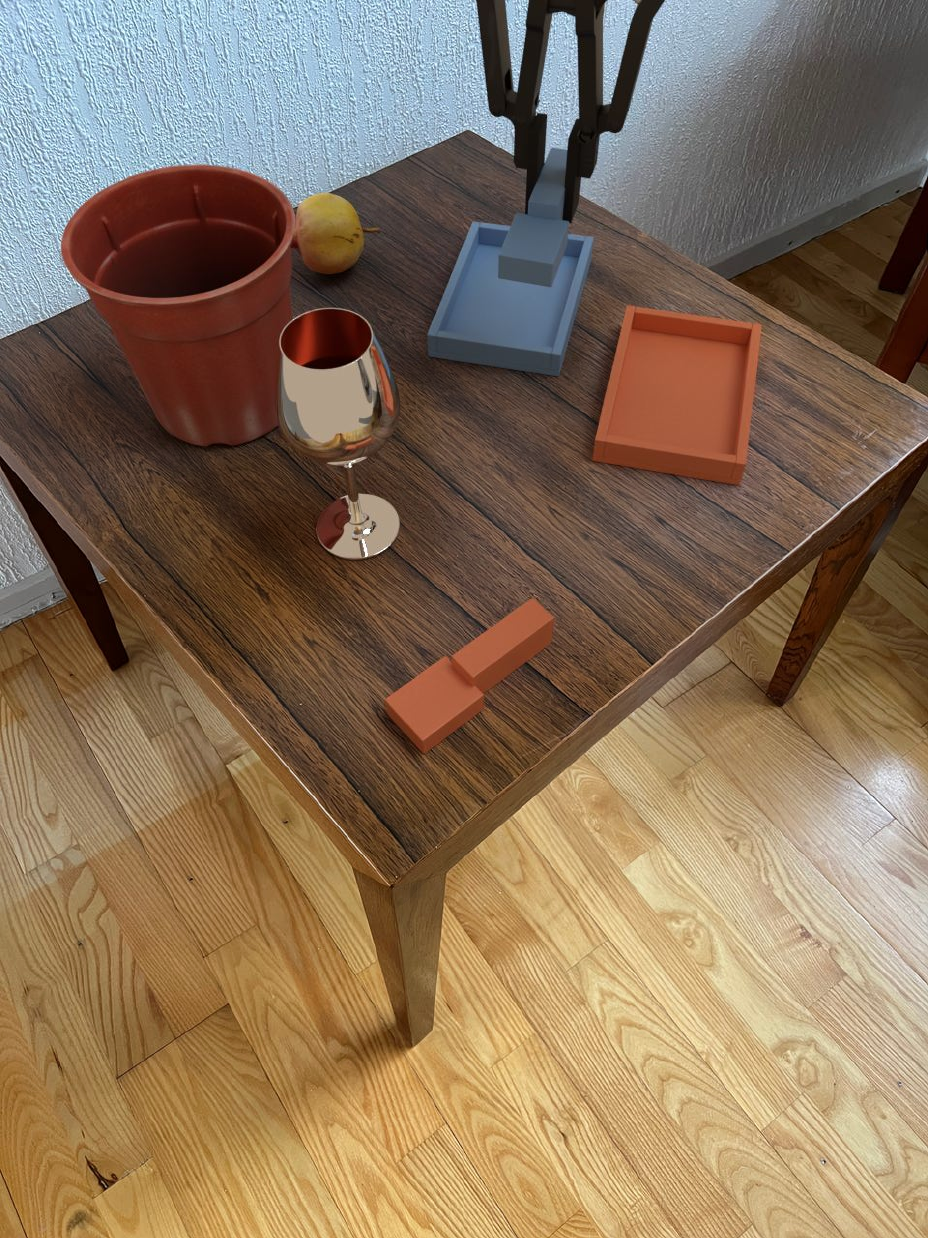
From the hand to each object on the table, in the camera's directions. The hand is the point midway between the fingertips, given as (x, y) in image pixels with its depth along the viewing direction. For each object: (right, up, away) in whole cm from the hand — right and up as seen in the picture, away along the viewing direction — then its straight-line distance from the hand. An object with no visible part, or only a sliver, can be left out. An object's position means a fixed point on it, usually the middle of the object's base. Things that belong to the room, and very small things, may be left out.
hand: (551, 208), depth 73 cm
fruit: (-19, +2, +18) cm, 26 cm away
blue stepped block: (-1, -2, -1) cm, 3 cm away
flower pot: (-27, -13, +8) cm, 31 cm away
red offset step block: (-6, -36, -8) cm, 37 cm away
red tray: (+11, -13, +7) cm, 19 cm away
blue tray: (-2, -3, +14) cm, 14 cm away
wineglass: (-15, -25, 0) cm, 29 cm away
